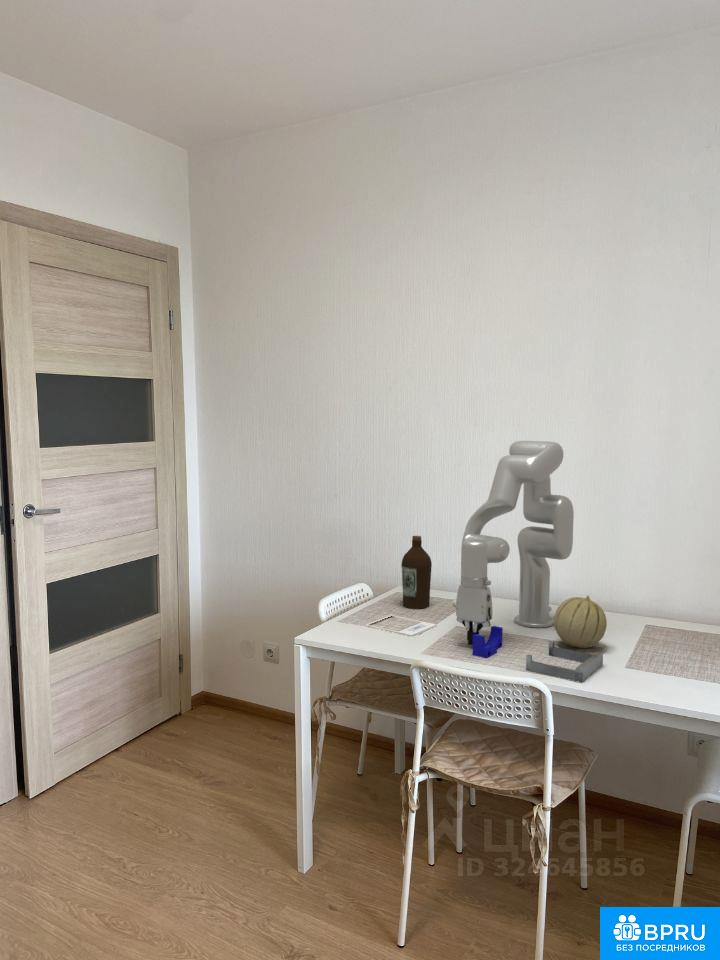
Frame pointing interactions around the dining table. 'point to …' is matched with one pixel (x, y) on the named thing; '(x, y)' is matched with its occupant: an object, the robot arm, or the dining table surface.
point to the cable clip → (488, 643)
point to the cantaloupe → (580, 622)
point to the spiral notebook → (411, 630)
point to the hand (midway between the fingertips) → (472, 643)
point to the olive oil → (416, 576)
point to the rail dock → (579, 674)
